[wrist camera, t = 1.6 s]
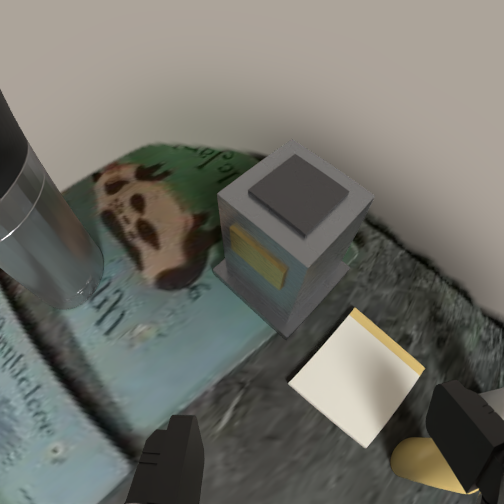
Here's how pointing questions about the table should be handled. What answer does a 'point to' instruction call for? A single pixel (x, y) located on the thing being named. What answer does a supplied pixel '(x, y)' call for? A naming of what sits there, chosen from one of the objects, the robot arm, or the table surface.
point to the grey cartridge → (495, 400)
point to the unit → (288, 234)
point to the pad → (358, 378)
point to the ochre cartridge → (424, 464)
